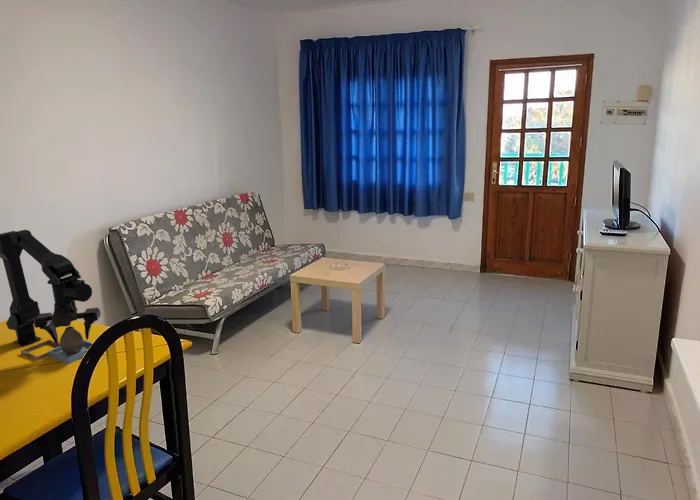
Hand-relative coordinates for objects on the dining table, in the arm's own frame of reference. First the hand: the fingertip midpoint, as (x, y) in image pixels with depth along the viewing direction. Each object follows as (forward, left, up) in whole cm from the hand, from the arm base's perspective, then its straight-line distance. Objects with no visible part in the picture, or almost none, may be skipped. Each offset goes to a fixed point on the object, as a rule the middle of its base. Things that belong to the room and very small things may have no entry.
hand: (72, 341), depth 173 cm
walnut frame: (-11, -4, -4) cm, 13 cm away
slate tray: (0, 0, -4) cm, 4 cm away
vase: (0, 0, -4) cm, 4 cm away
